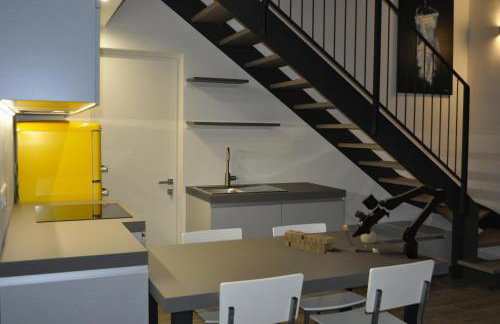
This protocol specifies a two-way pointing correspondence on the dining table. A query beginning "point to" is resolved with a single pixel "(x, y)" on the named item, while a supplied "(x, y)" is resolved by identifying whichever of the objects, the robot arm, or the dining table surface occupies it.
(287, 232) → the block tower
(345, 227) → the orange plate
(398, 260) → the dining table surface
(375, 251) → the switch panel
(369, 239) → the potion bottle
